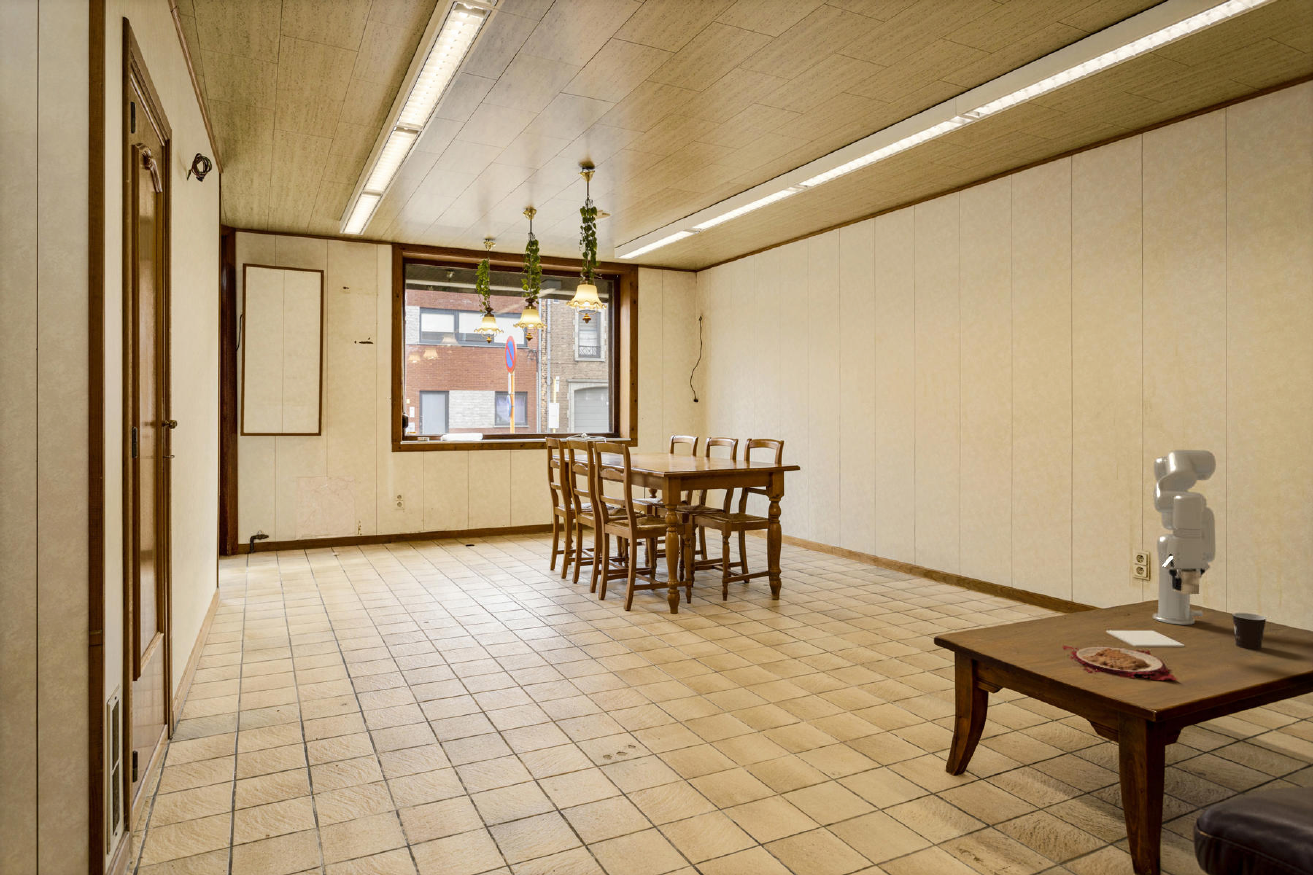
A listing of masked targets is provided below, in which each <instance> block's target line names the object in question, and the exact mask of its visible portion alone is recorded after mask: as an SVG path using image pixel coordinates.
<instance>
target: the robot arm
mask: <svg viewBox="0 0 1313 875" xmlns="http://www.w3.org/2000/svg"><path fill="white" fill-rule="evenodd" d="M1216 463H1217V461H1216V458H1215V455H1214V454H1213V453H1212V452H1211V451H1209V450H1205V449H1204V450H1202V449H1197V450H1196V449H1175V450H1172V451H1169V452H1168V453H1167V454H1166V456H1160V457H1157V458H1156V459H1155V460H1154V462H1153V474H1154V477H1155V481H1156V483H1155V485H1154V488H1153V490H1152V491H1153V492H1152V493H1153V494H1152V496H1153V505H1154V509H1155V510H1156V512H1158V513H1159V514H1161V524H1162V526H1163V528H1165V529H1166V530H1170V531H1172V533H1165V534H1162V535H1160V536H1158V538H1157V540H1156V550H1157V551H1156V552H1157V556H1158V599H1157V600H1158V601H1157V605H1158V607H1157V608H1158V609H1157V612H1155V613H1153V614H1152V618H1153V619H1154V620H1155V621H1159V622H1161V623H1162V622H1163V623H1166V624H1171V625H1172V624H1173V625H1182V626H1183V625H1187V626H1188V625H1189V626H1190V625H1193V624H1195V620H1196V619H1195V618H1194V617H1203V616H1204V612H1203V610H1194V609H1191V607H1190V605H1191V604H1190V602H1191V594H1182V593H1179V592H1176V591H1173V589H1175V590H1178V591H1181V578H1179V577H1180V575H1181V571H1182V569H1190V570H1194V571H1197V572H1200V575H1199V579H1202V577H1203V575H1204V574H1205V572H1207V571H1208V570H1209V569H1211V568H1210V567H1211V566H1210V565H1209V563H1212V562H1214V560H1215V558H1216V553H1217V552H1216V550H1217V549H1216V522H1215V521H1216V520H1215V514H1214V511H1213V510H1212V508H1210V507H1208V506H1207V504H1208V503H1207V499H1206V498H1205V496H1204V495H1203V494H1202V493H1200V492H1197V491H1196V492H1194V491H1193V492H1192V491H1191V492H1190V491H1189V490H1190V489H1192V488H1194V487H1195V485H1196V484H1197V481H1207V480H1209V479H1210V478H1211V477H1212V476H1213V474H1214V473H1215V471H1216V467H1217V466H1216V465H1217V464H1216Z"/></svg>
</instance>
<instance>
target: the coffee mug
mask: <svg viewBox="0 0 1313 875" xmlns="http://www.w3.org/2000/svg"><path fill="white" fill-rule="evenodd" d="M1232 620H1233V629H1234V637H1235V646H1236V647H1239V648H1241V649H1246V650H1251V651H1252V650H1253V651H1254V650H1255V651H1256V650H1257V651H1258V650H1261V649H1262V644H1263V638H1264V633H1265V627H1266V621H1267V618H1266V617H1265V616H1263V615H1260V614H1256V613H1248V612H1233V613H1232Z"/></svg>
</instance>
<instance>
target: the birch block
mask: <svg viewBox="0 0 1313 875" xmlns="http://www.w3.org/2000/svg"><path fill="white" fill-rule="evenodd" d="M1199 575H1200V572H1197V571H1194V570H1190V569H1182V571H1181V575H1180V577H1179V578H1181V591H1178V590H1175V589H1173V591H1176V592H1179V593H1182V594H1190V595H1199V594H1200V578H1199Z"/></svg>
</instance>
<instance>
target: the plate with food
mask: <svg viewBox="0 0 1313 875" xmlns="http://www.w3.org/2000/svg"><path fill="white" fill-rule="evenodd" d="M1062 648H1063V650H1064V651H1065V650H1066V651H1067V650H1071V652H1070V655H1071V654H1072V655H1071V656H1070V655H1069V654H1067V656H1068V657H1069V656H1070V657H1069V658H1071V659H1070V660H1074V658H1076V659H1075V660H1074V661H1075V662H1076V661H1077V662H1078V663H1079V665H1078V667H1079V666H1080V667H1079V668H1082V671H1085V672H1088V673H1087V674H1094V673H1093V672H1095V673H1098V672H1101V673H1103V674H1106V673H1107V672H1108V673H1107V674H1110V675H1111V674H1113V675H1112V676H1113V677H1115V675H1118V677H1119V678H1127V679H1136V678H1137V677H1135V676H1134V675H1136V674H1137V675H1142V677H1141V678H1149V680H1151V681H1152V680H1153V681H1168V680H1170V681H1176V680H1177V679H1178V678H1177V677H1174V675H1173V674H1172V673H1171V672H1173V671H1172V670H1171V669H1169V668H1167V666H1166V664H1165V663H1164V661H1163V660H1162V659H1160V658H1158V657H1157V656H1154V655H1152V654H1151V652H1150V650H1146V651H1145V650H1139V649H1136V650H1133V649H1129V648H1124V647H1122V648H1121V647H1111V646H1110V647H1109V646H1106V645H1105V646H1104V645H1102V646H1090V647H1084V648H1081V649H1079V648H1078V647H1072V646H1067V645H1062ZM1080 664H1081V665H1083V664H1084V665H1083V666H1081V665H1080ZM1076 666H1077V665H1076V664H1075V665H1074V667H1076ZM1086 666H1087V667H1086ZM1088 667H1090V668H1088ZM1095 669H1097V670H1095ZM1093 670H1094V671H1093Z"/></svg>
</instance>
